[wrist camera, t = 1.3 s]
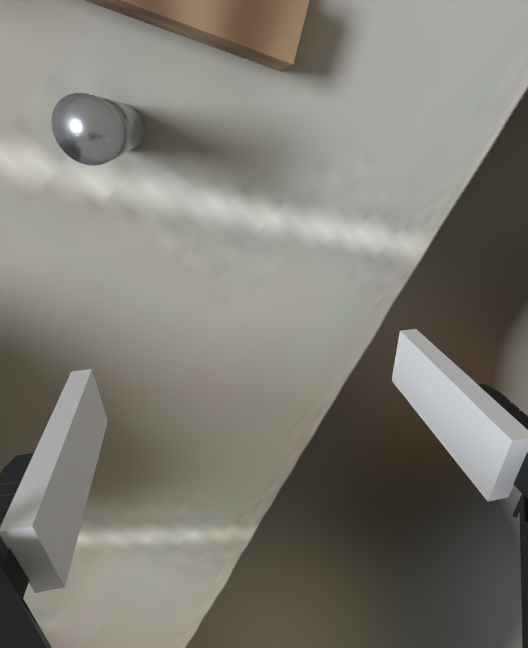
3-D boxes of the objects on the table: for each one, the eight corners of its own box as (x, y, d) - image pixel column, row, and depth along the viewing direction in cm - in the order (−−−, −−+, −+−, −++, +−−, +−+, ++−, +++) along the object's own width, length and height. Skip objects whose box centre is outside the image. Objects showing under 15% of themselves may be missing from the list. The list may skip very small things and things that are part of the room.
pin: (98, 143, 29) (51, 155, 19) (102, 97, 28) (52, 83, 17) (141, 154, 30) (118, 172, 20) (146, 110, 29) (124, 104, 18)
